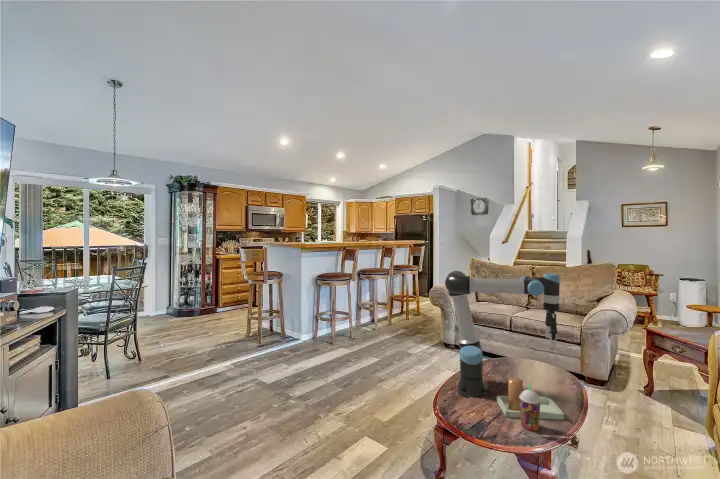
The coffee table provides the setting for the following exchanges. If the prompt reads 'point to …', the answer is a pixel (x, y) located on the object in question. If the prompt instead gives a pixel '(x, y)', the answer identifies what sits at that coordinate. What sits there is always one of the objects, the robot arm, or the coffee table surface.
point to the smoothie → (530, 409)
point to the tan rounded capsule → (514, 393)
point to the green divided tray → (546, 409)
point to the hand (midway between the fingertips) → (550, 341)
